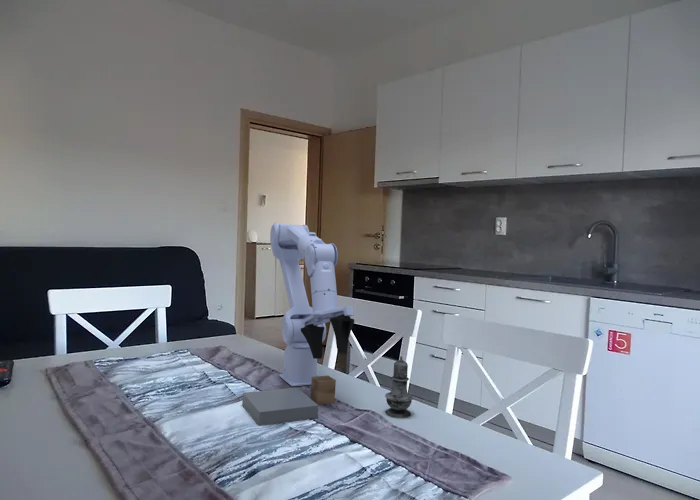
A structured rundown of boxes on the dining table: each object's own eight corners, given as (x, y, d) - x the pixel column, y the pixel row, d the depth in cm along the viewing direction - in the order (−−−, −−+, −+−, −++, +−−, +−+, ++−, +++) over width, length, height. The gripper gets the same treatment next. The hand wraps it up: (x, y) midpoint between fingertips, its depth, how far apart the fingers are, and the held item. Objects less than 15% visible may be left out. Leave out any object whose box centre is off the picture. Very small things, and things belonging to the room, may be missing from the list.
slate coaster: (242, 404, 101) (242, 392, 101) (296, 398, 107) (296, 387, 107) (258, 425, 91) (259, 412, 91) (317, 417, 96) (318, 405, 96)
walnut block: (310, 399, 107) (311, 376, 107) (326, 397, 109) (328, 375, 109) (317, 405, 104) (318, 382, 104) (334, 403, 106) (335, 380, 106)
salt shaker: (411, 420, 98) (414, 360, 98) (382, 416, 99) (385, 358, 99) (413, 410, 104) (416, 354, 103) (385, 407, 105) (389, 351, 105)
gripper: (289, 300, 110) (293, 360, 106) (334, 283, 101) (341, 349, 97) (312, 303, 115) (316, 360, 111) (357, 287, 106) (364, 350, 102)
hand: (329, 355), depth 104 cm, fingers open, 7 cm apart
